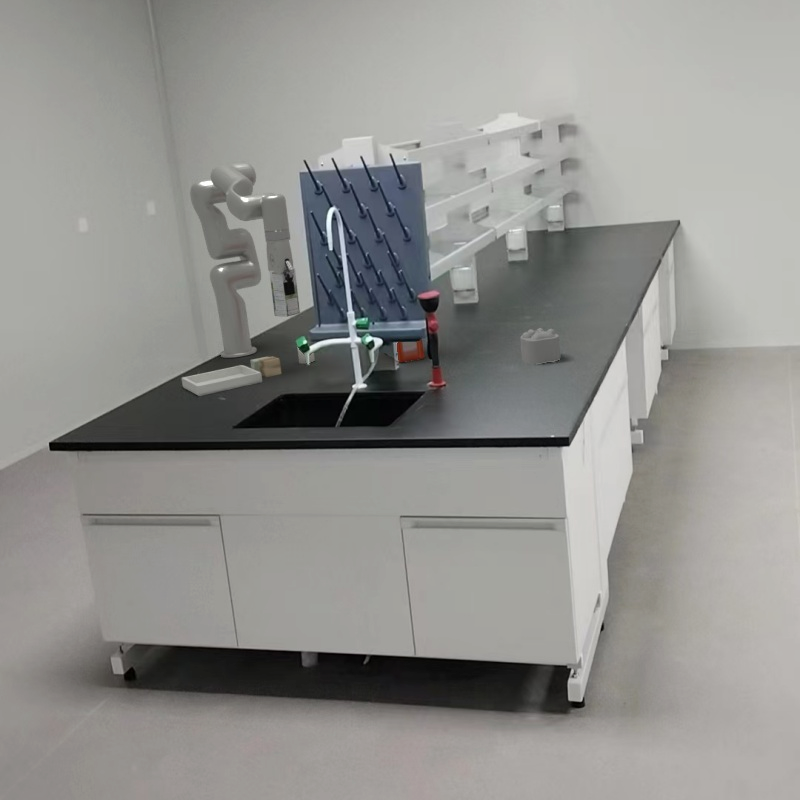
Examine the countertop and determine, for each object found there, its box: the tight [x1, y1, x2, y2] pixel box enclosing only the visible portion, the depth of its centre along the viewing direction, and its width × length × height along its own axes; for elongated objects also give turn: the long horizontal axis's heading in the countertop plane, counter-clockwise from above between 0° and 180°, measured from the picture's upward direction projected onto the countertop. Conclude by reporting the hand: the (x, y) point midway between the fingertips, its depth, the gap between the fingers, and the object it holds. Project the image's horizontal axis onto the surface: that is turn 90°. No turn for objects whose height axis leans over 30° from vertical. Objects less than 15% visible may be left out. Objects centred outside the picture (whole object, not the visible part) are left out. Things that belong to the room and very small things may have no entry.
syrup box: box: [268, 267, 301, 318], centre depth 318 cm, size 6×6×14 cm
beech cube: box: [258, 355, 282, 378], centre depth 321 cm, size 5×5×5 cm
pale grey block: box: [296, 346, 316, 365], centre depth 333 cm, size 5×5×6 cm
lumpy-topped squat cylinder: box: [520, 327, 561, 365], centre depth 302 cm, size 10×13×9 cm
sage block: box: [250, 356, 269, 372], centre depth 327 cm, size 4×6×4 cm, turn 116°
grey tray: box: [181, 364, 263, 397], centre depth 314 cm, size 16×20×3 cm
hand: (284, 293), depth 318 cm, fingers closed on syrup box, 7 cm apart
